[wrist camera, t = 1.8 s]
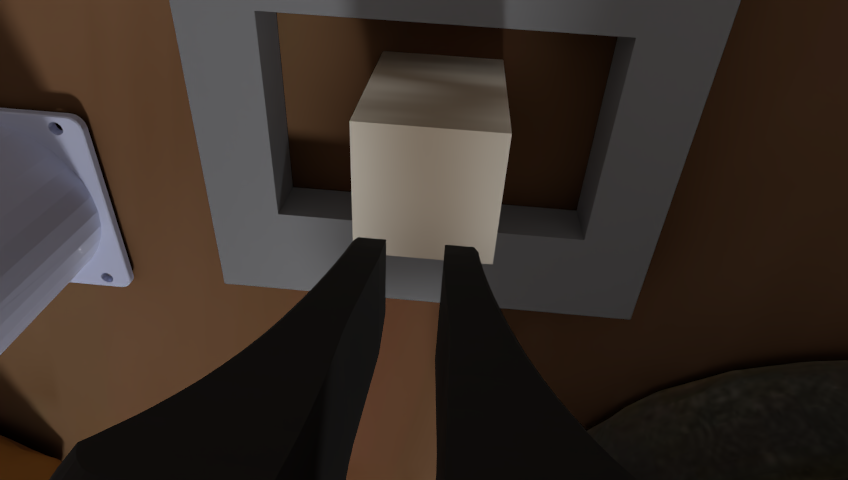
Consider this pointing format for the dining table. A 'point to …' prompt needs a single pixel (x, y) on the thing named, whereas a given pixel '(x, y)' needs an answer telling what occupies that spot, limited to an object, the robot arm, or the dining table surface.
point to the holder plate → (518, 225)
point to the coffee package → (24, 462)
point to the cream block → (430, 154)
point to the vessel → (738, 426)
